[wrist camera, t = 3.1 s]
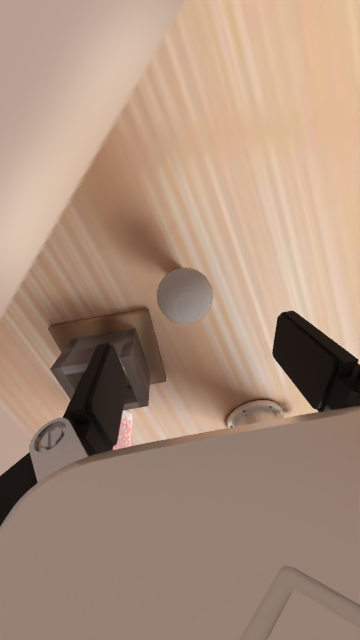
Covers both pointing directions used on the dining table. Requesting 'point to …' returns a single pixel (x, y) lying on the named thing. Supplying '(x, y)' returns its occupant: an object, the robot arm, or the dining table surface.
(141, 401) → the socket block
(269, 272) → the dining table surface
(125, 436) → the beverage cup
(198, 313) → the light bulb
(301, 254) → the dining table surface
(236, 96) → the dining table surface
